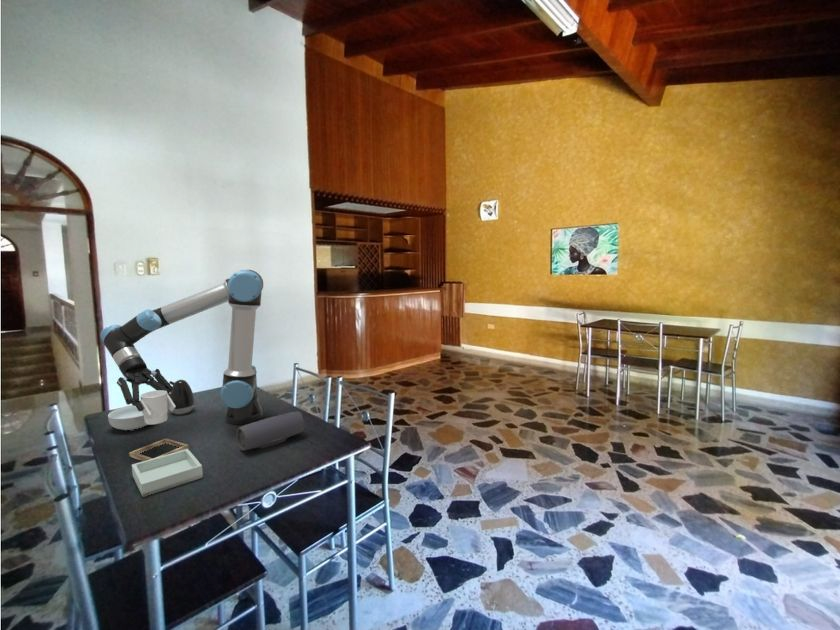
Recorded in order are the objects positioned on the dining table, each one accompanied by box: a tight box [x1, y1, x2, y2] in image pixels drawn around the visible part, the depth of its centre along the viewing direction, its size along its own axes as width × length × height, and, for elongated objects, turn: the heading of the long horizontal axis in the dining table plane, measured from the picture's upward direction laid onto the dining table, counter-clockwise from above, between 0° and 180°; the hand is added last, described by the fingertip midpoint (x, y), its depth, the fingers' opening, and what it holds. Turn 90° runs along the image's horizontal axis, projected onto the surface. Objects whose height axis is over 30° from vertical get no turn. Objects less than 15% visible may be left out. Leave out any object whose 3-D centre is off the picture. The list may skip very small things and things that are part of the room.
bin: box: [131, 449, 204, 498], centre depth 129 cm, size 16×16×4 cm
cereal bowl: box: [107, 404, 149, 431], centre depth 169 cm, size 17×17×7 cm
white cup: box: [139, 390, 169, 425], centre depth 144 cm, size 8×8×10 cm
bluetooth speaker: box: [236, 411, 306, 452], centre depth 153 cm, size 23×9×10 cm, turn 135°
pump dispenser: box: [168, 379, 196, 415], centre depth 184 cm, size 10×10×15 cm
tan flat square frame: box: [128, 437, 189, 462], centre depth 146 cm, size 13×13×2 cm
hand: (161, 412), depth 142 cm, fingers closed on white cup, 8 cm apart
